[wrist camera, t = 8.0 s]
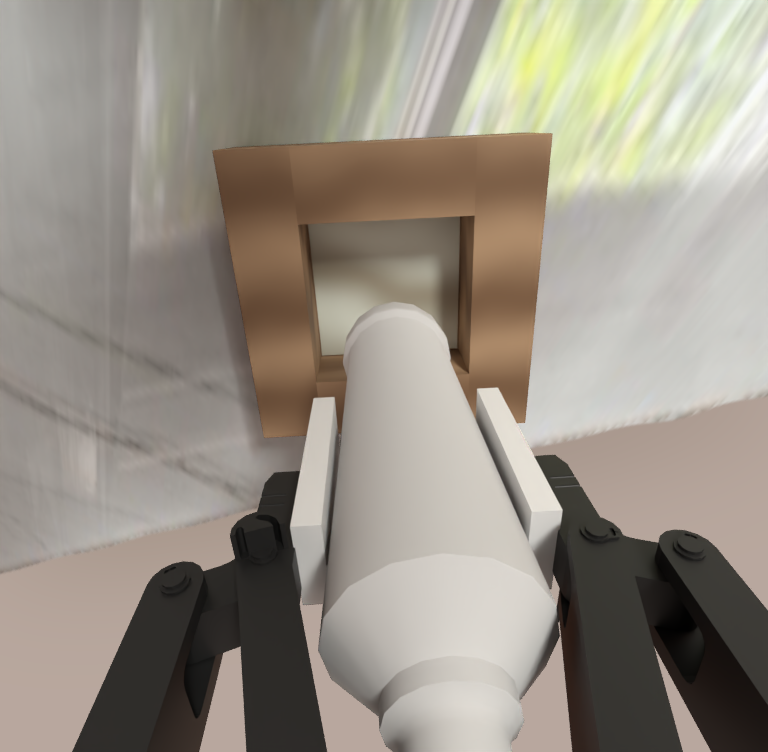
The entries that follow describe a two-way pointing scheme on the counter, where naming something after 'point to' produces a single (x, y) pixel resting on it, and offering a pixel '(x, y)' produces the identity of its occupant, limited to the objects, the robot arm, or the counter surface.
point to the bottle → (427, 553)
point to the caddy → (384, 257)
